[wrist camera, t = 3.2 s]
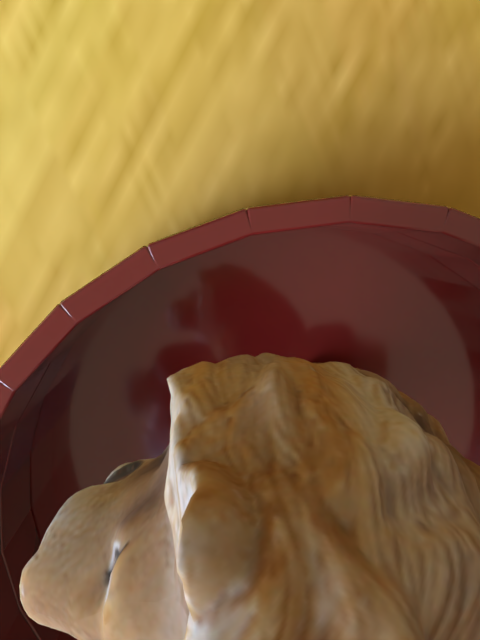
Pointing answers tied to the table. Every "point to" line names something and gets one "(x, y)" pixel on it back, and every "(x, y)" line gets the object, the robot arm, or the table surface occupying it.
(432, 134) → the table surface
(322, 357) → the bowl
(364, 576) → the lion figurine
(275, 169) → the table surface
